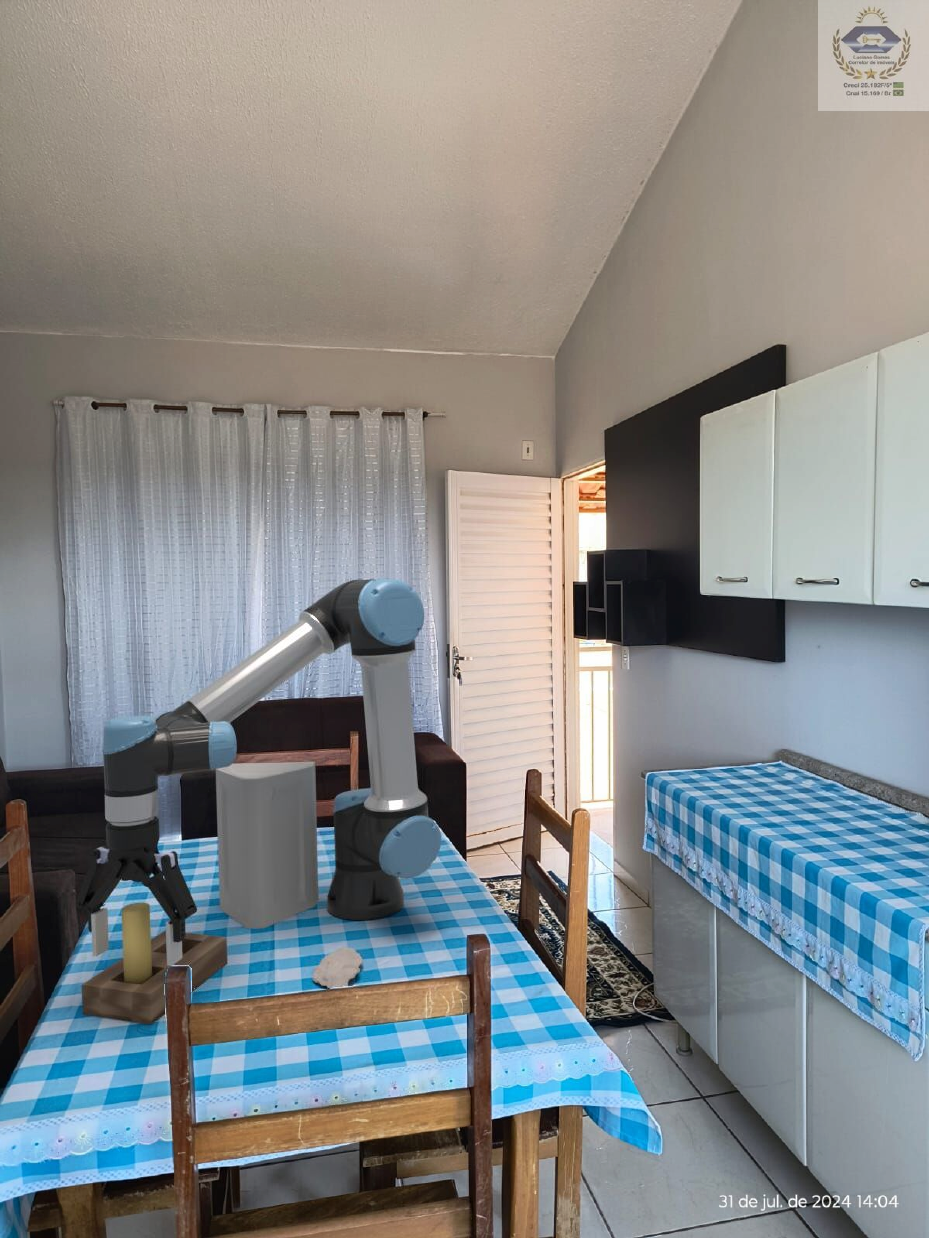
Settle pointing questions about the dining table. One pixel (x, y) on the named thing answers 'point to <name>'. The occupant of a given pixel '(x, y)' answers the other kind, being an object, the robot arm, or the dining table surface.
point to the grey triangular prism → (267, 841)
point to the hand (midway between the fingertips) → (137, 957)
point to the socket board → (151, 980)
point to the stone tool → (338, 968)
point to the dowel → (136, 943)
